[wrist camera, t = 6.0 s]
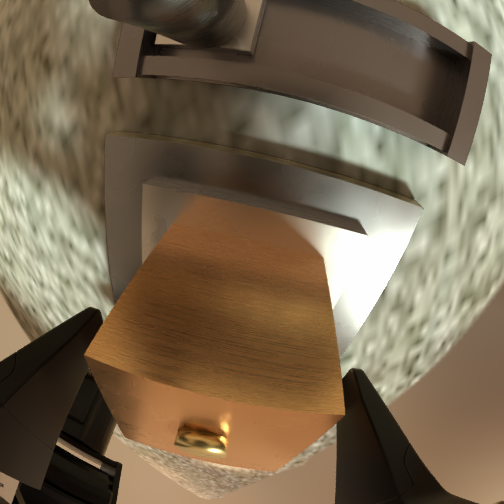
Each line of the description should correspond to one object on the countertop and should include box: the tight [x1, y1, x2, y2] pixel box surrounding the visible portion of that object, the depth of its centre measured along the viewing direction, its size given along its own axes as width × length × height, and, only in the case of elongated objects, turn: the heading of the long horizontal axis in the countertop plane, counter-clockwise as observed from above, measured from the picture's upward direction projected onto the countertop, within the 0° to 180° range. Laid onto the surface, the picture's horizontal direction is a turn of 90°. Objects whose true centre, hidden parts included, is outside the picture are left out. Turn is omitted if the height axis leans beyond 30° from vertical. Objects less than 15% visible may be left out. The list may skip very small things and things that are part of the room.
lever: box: [89, 0, 267, 56], centre depth 4 cm, size 2×3×5 cm
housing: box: [84, 223, 345, 472], centre depth 9 cm, size 6×6×6 cm
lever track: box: [113, 0, 492, 166], centre depth 6 cm, size 4×11×2 cm, turn 78°
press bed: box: [104, 131, 424, 359], centre depth 11 cm, size 11×12×3 cm
